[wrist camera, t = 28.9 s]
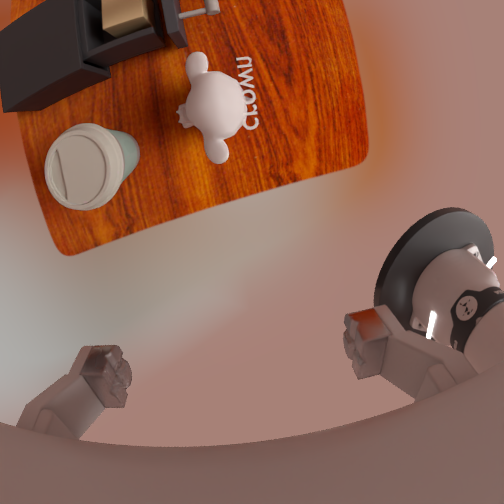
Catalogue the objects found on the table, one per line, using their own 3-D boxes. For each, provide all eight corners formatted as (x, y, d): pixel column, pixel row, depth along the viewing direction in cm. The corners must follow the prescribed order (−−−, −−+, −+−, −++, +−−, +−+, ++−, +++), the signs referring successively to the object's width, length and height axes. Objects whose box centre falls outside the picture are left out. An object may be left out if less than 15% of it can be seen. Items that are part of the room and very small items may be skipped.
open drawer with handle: (209, -27, 24) (206, -52, 18) (224, 38, 28) (223, 20, 22) (97, 8, 24) (75, -8, 18) (106, 73, 28) (82, 65, 22)
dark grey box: (101, 6, 24) (73, -15, 17) (111, 77, 29) (81, 68, 22) (32, 42, 25) (-3, 33, 17) (40, 110, 30) (3, 113, 22)
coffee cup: (102, 112, 31) (54, 113, 20) (160, 134, 33) (130, 141, 22) (82, 173, 34) (32, 197, 23) (136, 196, 36) (101, 228, 25)
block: (156, 31, 26) (143, 16, 21) (121, 41, 26) (102, 29, 20) (153, 2, 24) (140, -17, 19) (119, 12, 24) (101, -3, 19)
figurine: (200, 160, 37) (277, 145, 33) (167, 176, 30) (260, 158, 26) (179, 72, 32) (256, 50, 28) (141, 69, 25) (232, 36, 21)
